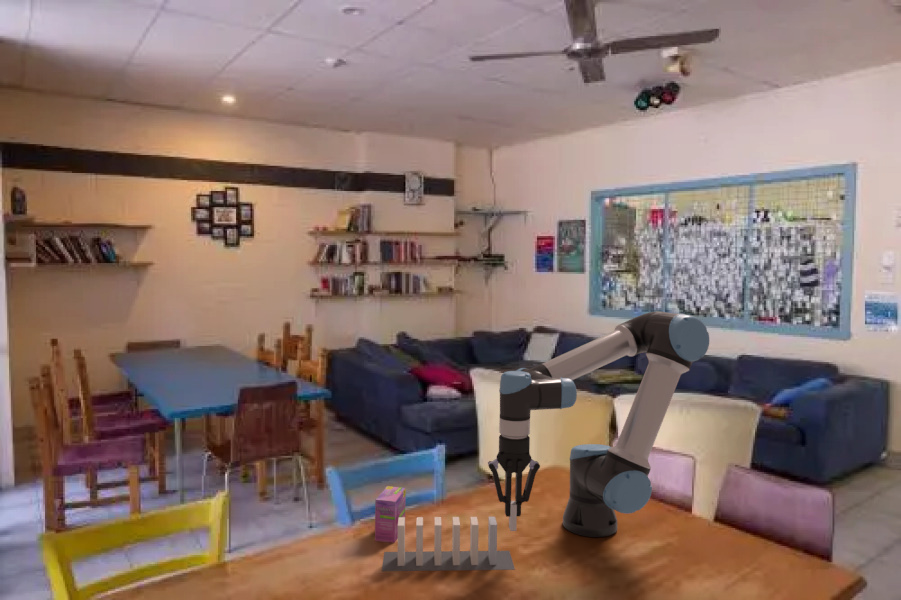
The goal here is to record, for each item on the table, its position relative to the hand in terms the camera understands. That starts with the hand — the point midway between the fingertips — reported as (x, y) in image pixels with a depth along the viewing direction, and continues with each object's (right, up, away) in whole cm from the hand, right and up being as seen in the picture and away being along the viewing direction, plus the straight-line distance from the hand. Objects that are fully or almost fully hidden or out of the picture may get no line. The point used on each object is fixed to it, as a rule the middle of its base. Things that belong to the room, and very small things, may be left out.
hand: (512, 528), depth 157 cm
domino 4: (-14, -8, 0) cm, 16 cm away
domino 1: (-28, -8, -1) cm, 29 cm away
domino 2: (-23, -8, 0) cm, 24 cm away
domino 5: (-10, -8, 0) cm, 12 cm away
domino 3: (-19, -8, 0) cm, 20 cm away
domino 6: (-5, -8, 0) cm, 9 cm away
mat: (-16, -8, 0) cm, 18 cm away
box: (-32, -8, +15) cm, 36 cm away
